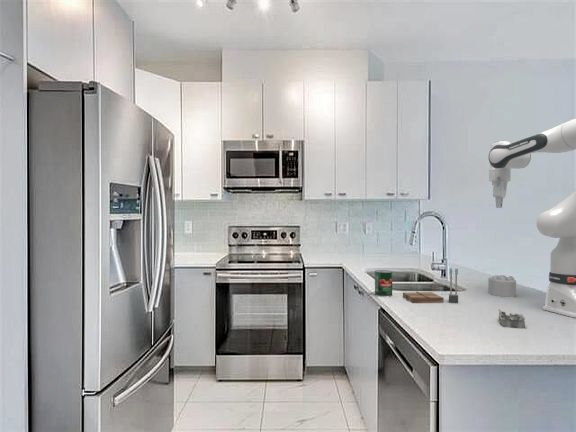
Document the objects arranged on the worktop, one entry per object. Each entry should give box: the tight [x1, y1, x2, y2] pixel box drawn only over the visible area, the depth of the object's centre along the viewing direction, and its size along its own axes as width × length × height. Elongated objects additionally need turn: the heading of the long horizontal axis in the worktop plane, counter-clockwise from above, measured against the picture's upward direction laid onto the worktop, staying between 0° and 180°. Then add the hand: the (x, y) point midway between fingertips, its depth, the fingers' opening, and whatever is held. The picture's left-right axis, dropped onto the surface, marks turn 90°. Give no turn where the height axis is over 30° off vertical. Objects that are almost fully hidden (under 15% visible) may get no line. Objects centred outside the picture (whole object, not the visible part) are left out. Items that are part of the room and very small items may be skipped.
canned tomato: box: [374, 269, 393, 297], centre depth 202 cm, size 8×8×11 cm
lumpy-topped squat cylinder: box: [487, 274, 517, 298], centre depth 203 cm, size 10×13×9 cm
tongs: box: [448, 267, 459, 304], centre depth 186 cm, size 3×4×14 cm
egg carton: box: [498, 309, 526, 329], centre depth 150 cm, size 11×8×4 cm
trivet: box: [402, 291, 444, 304], centre depth 191 cm, size 13×13×2 cm
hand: (499, 207), depth 202 cm, fingers open, 8 cm apart
